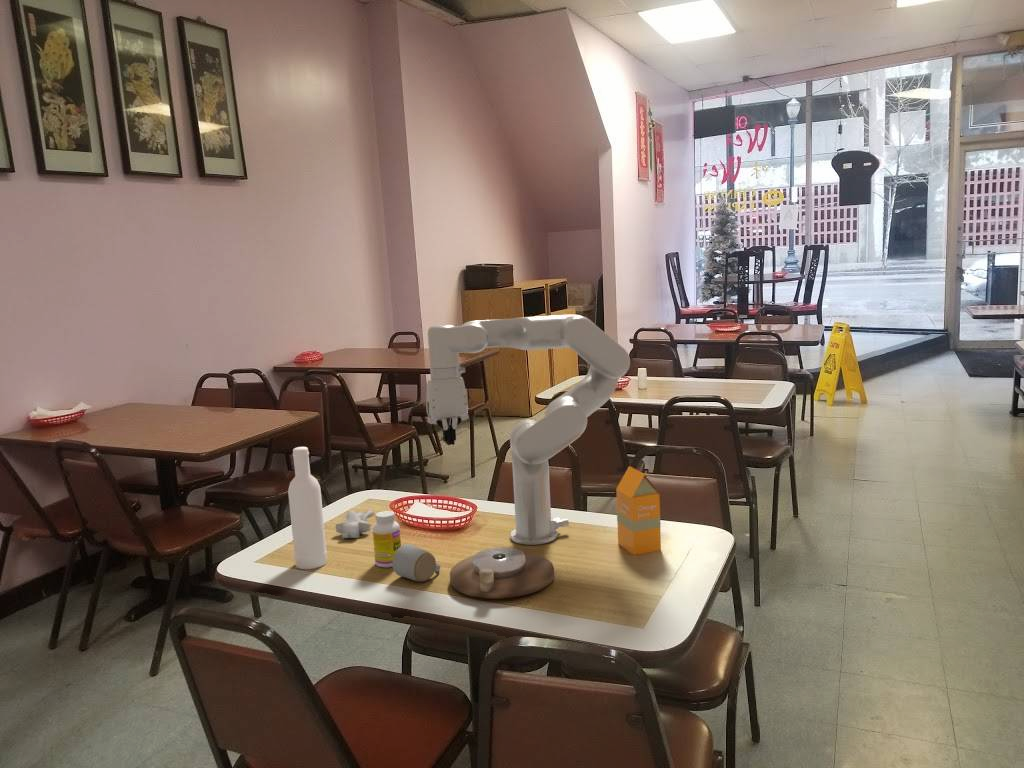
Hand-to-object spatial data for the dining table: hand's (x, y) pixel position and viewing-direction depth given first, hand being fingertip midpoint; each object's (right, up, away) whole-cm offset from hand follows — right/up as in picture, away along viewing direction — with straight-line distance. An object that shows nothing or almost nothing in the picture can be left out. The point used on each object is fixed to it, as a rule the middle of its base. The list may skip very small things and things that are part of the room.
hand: (450, 443), depth 200 cm
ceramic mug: (-6, -31, -16) cm, 35 cm away
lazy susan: (+14, -30, -21) cm, 39 cm away
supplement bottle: (-15, -30, -7) cm, 34 cm away
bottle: (-35, -30, -4) cm, 46 cm away
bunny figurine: (-28, -26, +18) cm, 43 cm away
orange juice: (+48, -26, -5) cm, 55 cm away
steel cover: (+13, -27, -21) cm, 37 cm away
